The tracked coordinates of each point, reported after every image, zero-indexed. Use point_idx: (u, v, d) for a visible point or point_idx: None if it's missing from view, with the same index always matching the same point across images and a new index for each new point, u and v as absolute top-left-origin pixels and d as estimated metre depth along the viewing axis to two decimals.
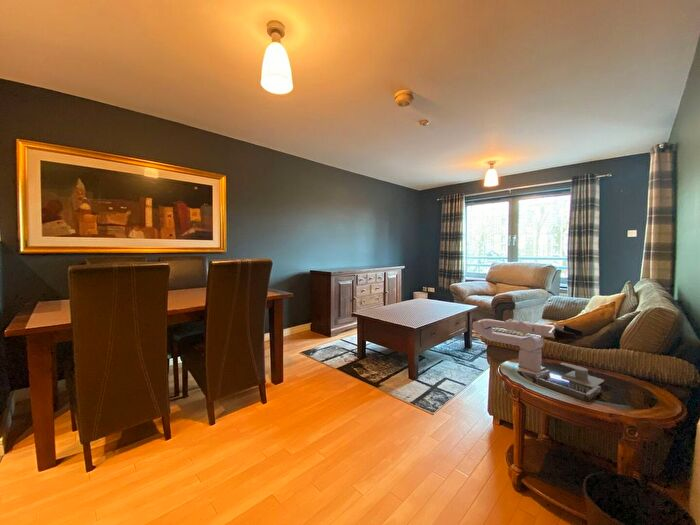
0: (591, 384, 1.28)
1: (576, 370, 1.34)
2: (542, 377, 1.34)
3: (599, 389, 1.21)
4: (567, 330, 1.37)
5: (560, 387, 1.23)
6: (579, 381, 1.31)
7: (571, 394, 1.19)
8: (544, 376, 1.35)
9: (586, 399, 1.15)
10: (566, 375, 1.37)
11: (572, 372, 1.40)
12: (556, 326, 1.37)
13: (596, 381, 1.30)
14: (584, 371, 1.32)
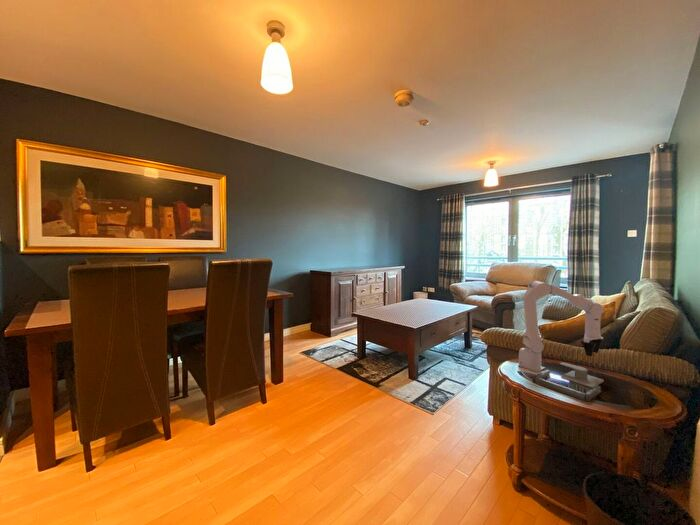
0: (590, 384, 1.28)
1: (576, 370, 1.34)
2: (542, 377, 1.34)
3: (599, 389, 1.21)
4: (596, 341, 1.43)
5: (560, 387, 1.23)
6: (579, 381, 1.31)
7: (571, 394, 1.19)
8: (544, 376, 1.35)
9: (586, 399, 1.15)
10: (566, 375, 1.37)
11: (572, 372, 1.40)
12: (598, 338, 1.39)
13: (596, 381, 1.31)
14: (584, 371, 1.32)
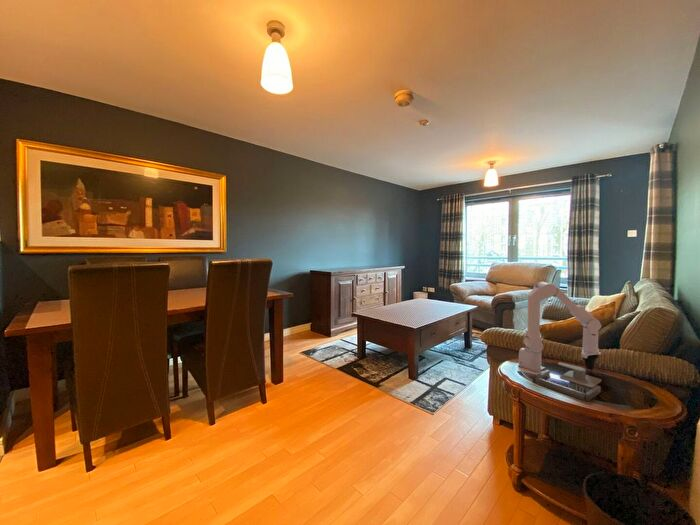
0: (590, 384, 1.28)
1: (574, 370, 1.34)
2: (542, 377, 1.34)
3: (599, 389, 1.21)
4: None
5: (560, 387, 1.23)
6: (578, 381, 1.31)
7: (571, 394, 1.19)
8: (544, 376, 1.35)
9: (586, 399, 1.15)
10: (564, 375, 1.37)
11: (569, 372, 1.40)
12: None
13: (594, 381, 1.31)
14: (582, 371, 1.32)
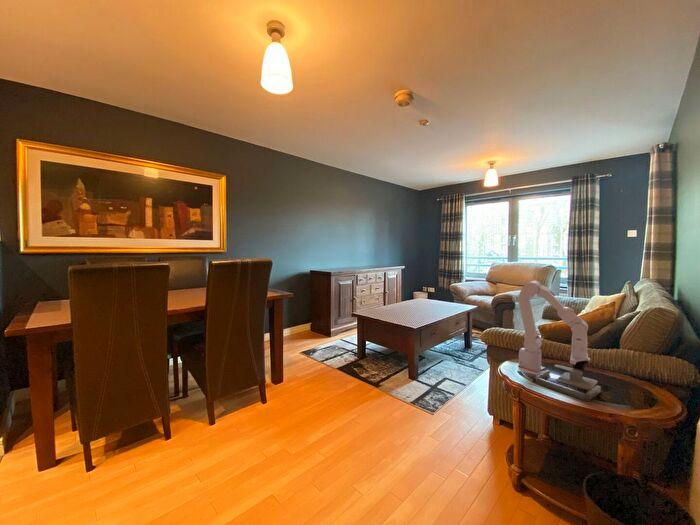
0: (587, 386, 1.26)
1: (571, 372, 1.31)
2: (542, 377, 1.34)
3: (599, 389, 1.21)
4: None
5: (560, 387, 1.23)
6: (575, 383, 1.28)
7: (571, 394, 1.19)
8: (544, 376, 1.35)
9: (586, 399, 1.15)
10: (561, 377, 1.34)
11: (565, 374, 1.38)
12: None
13: (591, 382, 1.29)
14: (579, 373, 1.30)
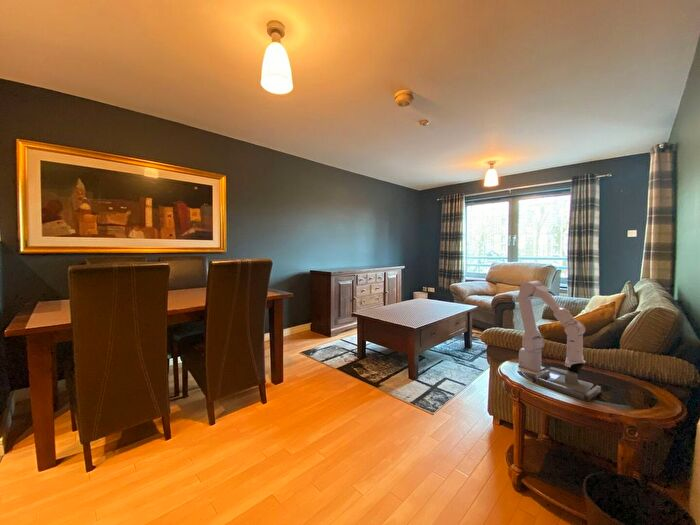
0: (583, 389, 1.23)
1: (566, 375, 1.29)
2: (542, 377, 1.34)
3: (599, 389, 1.21)
4: None
5: (560, 387, 1.23)
6: (570, 387, 1.26)
7: (571, 394, 1.19)
8: (544, 376, 1.35)
9: (586, 399, 1.15)
10: (556, 380, 1.32)
11: (560, 376, 1.35)
12: None
13: (586, 386, 1.26)
14: (575, 376, 1.27)
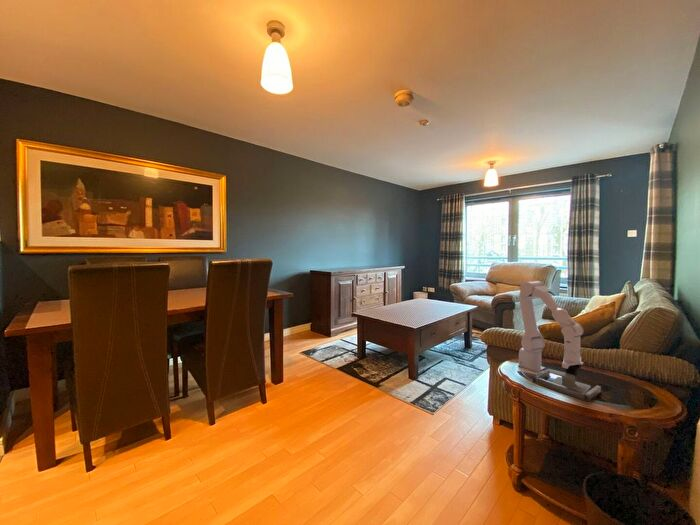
0: None
1: (564, 377, 1.27)
2: (542, 377, 1.34)
3: (599, 389, 1.21)
4: None
5: (560, 387, 1.23)
6: None
7: (571, 394, 1.19)
8: (544, 376, 1.35)
9: (586, 399, 1.15)
10: (553, 382, 1.30)
11: (558, 378, 1.34)
12: None
13: (584, 388, 1.25)
14: (572, 378, 1.26)
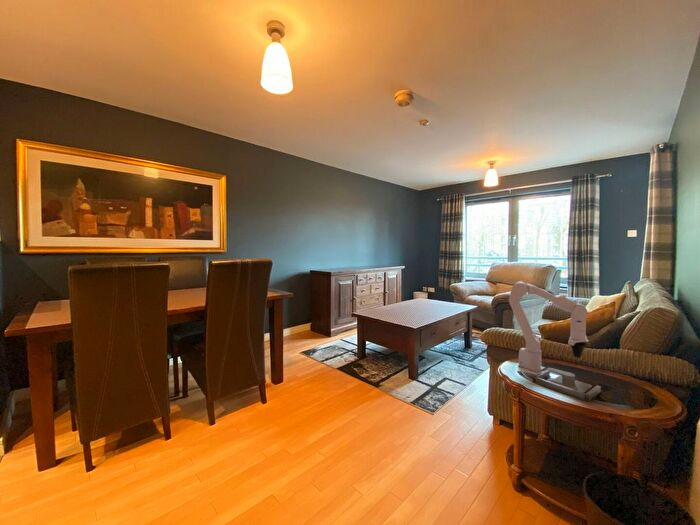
0: (579, 390, 1.23)
1: (563, 376, 1.28)
2: (542, 377, 1.34)
3: (599, 389, 1.21)
4: None
5: (560, 387, 1.23)
6: None
7: (571, 394, 1.19)
8: (544, 376, 1.35)
9: (586, 399, 1.15)
10: (553, 381, 1.31)
11: (559, 377, 1.35)
12: None
13: (584, 387, 1.25)
14: (571, 377, 1.27)
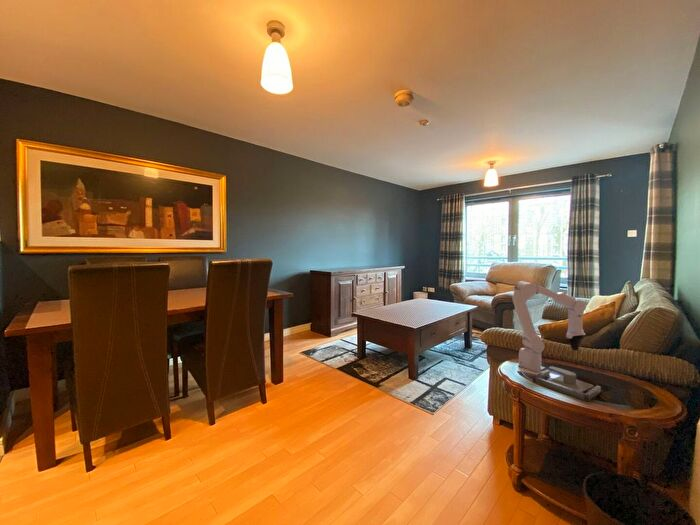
0: (578, 389, 1.24)
1: (564, 374, 1.30)
2: (542, 377, 1.34)
3: (599, 389, 1.21)
4: None
5: (560, 387, 1.23)
6: (566, 386, 1.27)
7: (571, 394, 1.19)
8: (544, 376, 1.35)
9: (586, 399, 1.15)
10: (554, 379, 1.33)
11: (561, 376, 1.36)
12: (581, 334, 1.42)
13: (584, 386, 1.26)
14: (572, 376, 1.28)
